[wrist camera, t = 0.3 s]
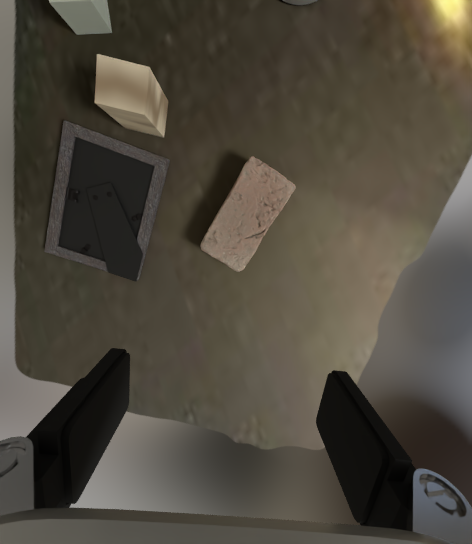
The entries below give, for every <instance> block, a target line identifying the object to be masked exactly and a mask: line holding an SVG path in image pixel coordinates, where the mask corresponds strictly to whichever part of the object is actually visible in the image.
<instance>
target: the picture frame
mask: <svg viewBox="0 0 472 544" xmlns="http://www.w3.org/2000/svg"><path fill="white" fill-rule="evenodd" d="M169 162H170V161H169V160H168V159H166V158H164V157H161V156H158V155H156V154H153V153H150V152H148V151H145V150H142V149H140V148H137V147H134V146H132V145H129V144H126V143H124V142H121V141H119V140H116V139H113V138H111V137H108V136H105V135H103V134H100V133H97V132H95V131H92V130H89V129H87V128H84V127H81V126H79V125H76V124H73V123H71V122H68V121H65V120H64V123H63V129H62V136H61V143H60V150H59V156H58V163H57V170H56V177H55V183H54V190H53V197H52V204H51V210H50V217H49V224H48V231H47V237H46V244H45V251H44V252H48V253H51V254H54V255H57V256H60V257H63V258H67V259H70V260H73V261H76V262H79V263H82V264H85V265H89V266H92V267H95V268H98V269H101V270H104V271H108V272H109V273H112V274H115V275H118V276H121V277H124V278H127V279H130V280H133V281H138V280H139V278H140V275H141V271H142V267H143V263H144V259H145V255H146V251H147V247H148V244H149V240H150V236H151V232H152V228H153V224H154V220H155V216H156V213H157V209H158V205H159V201H160V197H161V193H162V189H163V185H164V182H165V178H166V174H167V170H168V166H169Z"/></svg>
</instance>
